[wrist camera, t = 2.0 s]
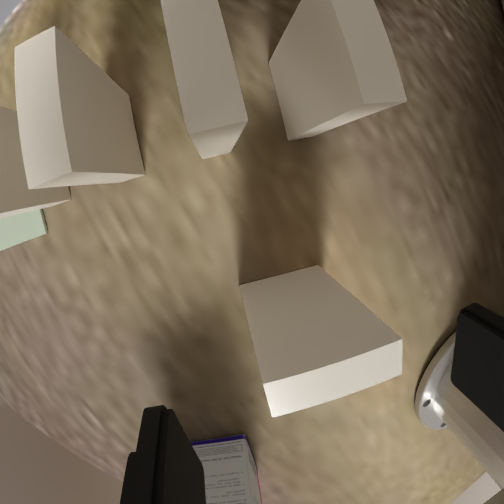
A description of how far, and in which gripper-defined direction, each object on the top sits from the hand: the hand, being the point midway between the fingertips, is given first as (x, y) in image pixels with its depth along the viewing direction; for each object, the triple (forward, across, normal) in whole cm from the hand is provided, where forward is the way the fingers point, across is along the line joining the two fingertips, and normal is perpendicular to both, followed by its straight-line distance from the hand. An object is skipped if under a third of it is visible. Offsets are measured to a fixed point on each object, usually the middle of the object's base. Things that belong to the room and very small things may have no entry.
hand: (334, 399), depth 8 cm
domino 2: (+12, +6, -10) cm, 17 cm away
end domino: (+11, -1, +1) cm, 11 cm away
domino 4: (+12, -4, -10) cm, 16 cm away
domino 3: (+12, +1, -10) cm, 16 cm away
